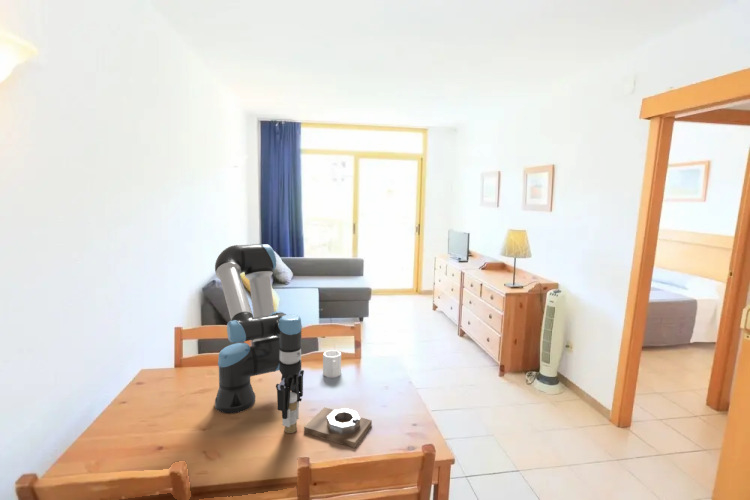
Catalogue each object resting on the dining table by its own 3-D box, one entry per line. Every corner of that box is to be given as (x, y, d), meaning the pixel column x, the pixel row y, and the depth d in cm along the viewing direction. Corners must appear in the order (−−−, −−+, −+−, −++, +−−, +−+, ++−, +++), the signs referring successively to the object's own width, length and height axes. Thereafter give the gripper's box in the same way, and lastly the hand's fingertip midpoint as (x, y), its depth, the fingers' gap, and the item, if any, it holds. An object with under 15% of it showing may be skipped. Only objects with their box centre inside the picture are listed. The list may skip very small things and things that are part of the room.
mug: (321, 370, 184) (321, 351, 182) (339, 368, 186) (339, 349, 185) (325, 382, 172) (326, 361, 171) (344, 380, 175) (345, 359, 173)
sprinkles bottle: (285, 426, 139) (284, 391, 137) (297, 425, 140) (297, 391, 138) (283, 434, 135) (283, 398, 133) (296, 433, 135) (296, 398, 133)
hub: (322, 429, 135) (322, 419, 134) (337, 413, 145) (337, 404, 144) (350, 437, 131) (350, 427, 130) (363, 420, 141) (363, 411, 140)
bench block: (304, 432, 136) (304, 426, 136) (324, 412, 149) (324, 407, 149) (354, 448, 129) (354, 442, 128) (371, 425, 141) (371, 420, 141)
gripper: (284, 372, 124) (284, 438, 127) (313, 352, 140) (312, 412, 143) (265, 367, 127) (266, 432, 130) (295, 348, 143) (296, 407, 146)
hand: (290, 421), depth 137 cm, fingers closed on sprinkles bottle, 4 cm apart
